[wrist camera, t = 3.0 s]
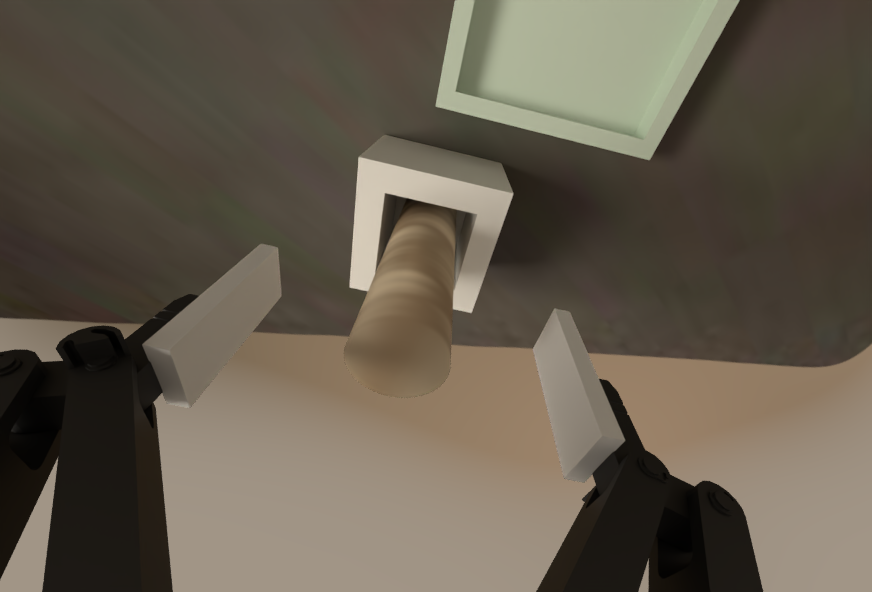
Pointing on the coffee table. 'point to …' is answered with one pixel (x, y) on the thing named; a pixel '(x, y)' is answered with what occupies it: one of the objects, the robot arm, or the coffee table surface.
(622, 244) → the coffee table surface
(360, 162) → the hollow block
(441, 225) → the dowel
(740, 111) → the coffee table surface
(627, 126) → the tray
